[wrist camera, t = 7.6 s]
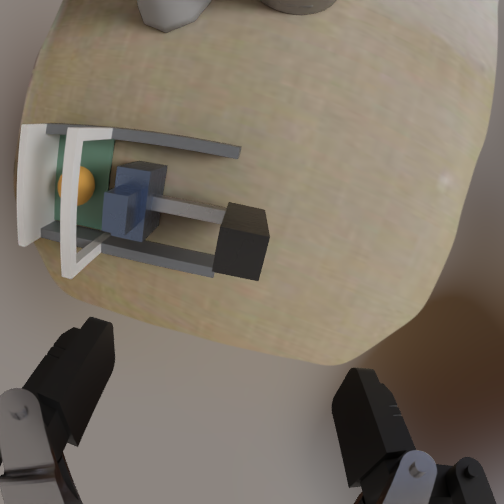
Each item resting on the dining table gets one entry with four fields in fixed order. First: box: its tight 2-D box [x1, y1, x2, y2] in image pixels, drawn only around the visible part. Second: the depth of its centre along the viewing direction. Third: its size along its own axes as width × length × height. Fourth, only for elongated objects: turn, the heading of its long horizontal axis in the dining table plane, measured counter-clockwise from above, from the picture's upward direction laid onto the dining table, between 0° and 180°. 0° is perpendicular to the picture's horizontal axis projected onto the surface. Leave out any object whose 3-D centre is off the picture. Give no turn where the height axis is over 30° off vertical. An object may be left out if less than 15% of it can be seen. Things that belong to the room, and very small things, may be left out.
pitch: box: [17, 123, 241, 279], centre depth 24 cm, size 12×20×9 cm, turn 77°
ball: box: [58, 166, 95, 206], centre depth 25 cm, size 4×4×4 cm
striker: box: [102, 161, 270, 281], centre depth 23 cm, size 6×12×11 cm, turn 77°
